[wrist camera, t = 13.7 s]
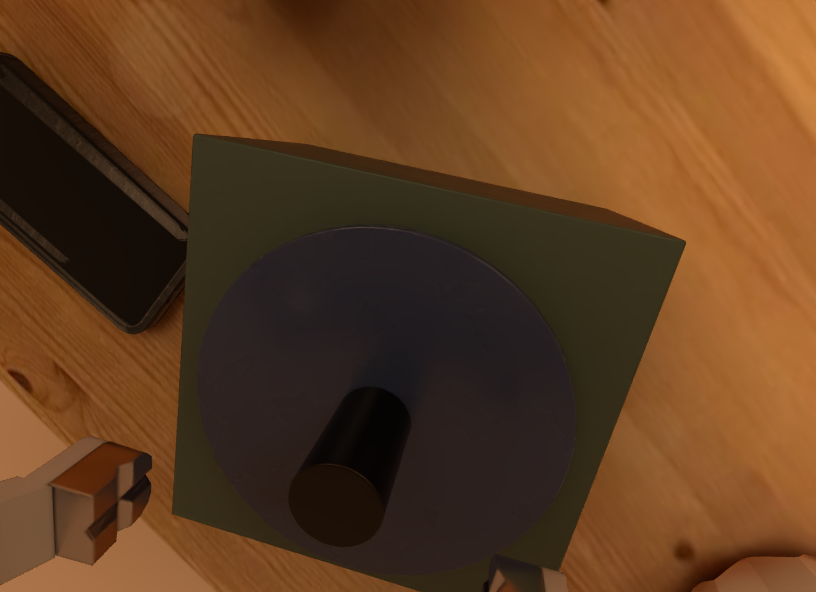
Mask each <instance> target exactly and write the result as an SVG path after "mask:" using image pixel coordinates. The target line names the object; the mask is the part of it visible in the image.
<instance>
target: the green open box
mask: <svg viewBox="0 0 816 592" xmlns="http://www.w3.org/2000/svg"><path fill="white" fill-rule="evenodd" d="M357 224H378V225H392V226H398V227H405V228H411V229H416V230H419V231H423V232H426V233H429V234H433V235H436V236H439V237H442V238H445V239H447V240H449V241H451V242H454V243H456V244H458V245H460V246H463V247H465V248H467V249H469V250H470V251H472V252H474V253H475V254H477V255H479V256H480V257H482V258H483V259H485V260H487V261H488V262H490V263H492V264H493V265H494V266H495V267H497V268H498V269H499V270H500V271H501V272H503V273H504V274H505V275H506V276H508V277H509V278H510V279H511V280H512V281H514V282H515V283H516V284H517V286H518V287H519V288H520V289H521V290H522V291H523V292H524V293H525V294H526V295H527V296H528V297H529V298H530V299H531V300H532V301H533V303H534V304H535V306H536V307H537V309H538V310H539V311H540V313H541V314H542V316H543V317H544V318H545V320H546V321H547V323H548V324H549V326H550V328H551V330H552V332H553V334H554V336H555V338H556V339H557V341H558V343H559V345H560V347H561V350H562V353H563V355H564V358H565V361H566V364H567V367H568V370H569V373H570V375H571V380H572V385H573V390H574V395H575V401H576V423H577V427H576V436H575V444H574V451H573V455H572V458H571V462H570V465H569V469H568V472H567V475H566V477H565V479H564V481H563V483H562V486H561V488H560V490H559V492H558V494H557V496H556V497H555V499H554V500H553V502H552V503H551V505H550V506H549V508H548V509H547V511H546V512H545V514H544V515H543V516H542V517H541V518H540V519H539V520H538V521H537V522H536V524H535V525H534V526H533V527H532V528H531V529H530V530H529V531H528V532H526V533H525V534H524V535H523V536H522V537H520V538H519V539H518V540H517V541H516V542H514V543H513V544H511V545H510V546H508V547H507V548H505V549H503V550H502V551H500V552H499V553H497V555H501V556H504V557H508V558H512V559H515V560H519V561H522V562H526V563H529V564H533V565H537V566H539V567H540V566H541V567H544V568H548V569H552V570H555V571H559V569H560V566H561V564H562V561H563V558H564V556H565V553H566V551H567V548H568V546H569V543H570V540H571V538H572V535H573V533H574V530H575V528H576V525H577V522H578V520H579V517H580V515H581V512H582V510H583V507H584V504H585V502H586V499H587V497H588V494H589V492H590V489H591V486H592V484H593V481H594V479H595V476H596V474H597V471H598V468H599V466H600V463H601V461H602V458H603V456H604V453H605V451H606V448H607V445H608V443H609V440H610V438H611V435H612V433H613V430H614V427H615V425H616V422H617V420H618V417H619V415H620V412H621V409H622V407H623V404H624V402H625V399H626V397H627V394H628V391H629V389H630V386H631V384H632V381H633V379H634V376H635V373H636V371H637V368H638V366H639V363H640V361H641V358H642V355H643V353H644V350H645V348H646V345H647V343H648V340H649V337H650V335H651V332H652V330H653V327H654V325H655V322H656V319H657V317H658V314H659V312H660V309H661V307H662V304H663V302H664V299H665V296H666V294H667V291H668V289H669V286H670V284H671V281H672V278H673V276H674V273H675V271H676V268H677V266H678V263H679V260H680V258H681V255H682V253H683V250H684V248H685V245H686V241H684V240H682V239H680V238H677V237H675V236H672V235H669V234H667V233H665V232H663V231H660V230H658V229H655V228H653V227H650V226H648V225H645V224H643V223H640V222H638V221H635V220H633V219H631V218H628V217H626V216H623V215H621V214H618V213H616V212H613V211H611V210H608V209H604V208H600V207H595V206H590V205H586V204H581V203H577V202H572V201H567V200H563V199H558V198H553V197H549V196H544V195H540V194H535V193H530V192H526V191H521V190H516V189H512V188H507V187H502V186H498V185H493V184H489V183H484V182H479V181H475V180H470V179H465V178H461V177H456V176H451V175H447V174H442V173H438V172H433V171H428V170H424V169H419V168H414V167H410V166H405V165H401V164H396V163H391V162H387V161H382V160H377V159H373V158H368V157H363V156H359V155H354V154H350V153H345V152H340V151H336V150H331V149H326V148H322V147H317V146H313V145H308V144H301V143H291V142H280V141H270V140H259V139H249V138H239V137H228V136H218V135H217V136H216V135H207V134H197V133H196V134H194V135H193V150H192V168H191V186H190V203H189V221H188V239H187V257H186V275H185V293H184V311H183V328H182V346H181V364H180V382H179V400H178V418H177V436H176V453H175V471H174V489H173V507H172V514H174V515H177V516H180V517H183V518H186V519H190V520H193V521H196V522H199V523H202V524H206V525H209V526H212V527H215V528H218V529H222V530H225V531H228V532H231V533H234V534H238V535H241V536H244V537H247V538H251V539H254V540H257V541H260V542H263V543H267V544H270V545H273V546H276V547H279V548H283V549H286V550H289V551H292V552H295V553H299V554H302V555H305V556H308V557H311V558H315V559H318V560H321V561H324V562H327V563H331V564H334V565H337V566H340V567H343V568H347V569H350V570H353V571H356V572H359V573H363V574H366V575H369V576H372V577H375V578H379V579H382V580H385V581H388V582H392V583H395V584H398V585H401V586H404V587H408V588H411V589H414V590H417V591H420V592H481V589H482V586H483V583H484V582H485V581H487V580H488V579H489V565H490V562H491V559H492V557H493V556H491V557H489V558H487V559H485V560H482V561H480V562H478V563H476V564H473V565H470V566H466V567H463V568H460V569H457V570H453V571H448V572H442V573H437V574H430V575H415V576H402V575H385V574H378V573H372V572H365V571H361V570H358V569H354V568H350V567H346V566H343V565H340V564H337V563H334V562H332V561H329V560H326V559H324V558H321V557H319V556H317V555H315V554H313V553H311V552H309V551H307V550H305V549H303V548H301V547H300V546H298V545H296V544H295V543H293V542H292V541H290V540H288V539H287V538H285V537H284V536H282V535H281V534H280V533H278V532H277V531H276V530H274V529H273V528H272V527H270V526H269V525H268V524H267V523H265V522H264V521H263V520H262V519H261V518H260V517H259V516H258V515H257V514H256V513H255V512H254V511H253V510H252V509H251V508H250V507H249V506H248V505H247V504H246V503H245V502H244V500H243V499H242V498H241V497H240V496H239V495H238V493H237V492H236V491H235V490H234V488H233V487H232V485H231V484H230V482H229V481H228V480H227V478H226V477H225V475H224V474H223V472H222V470H221V468H220V466H219V465H218V463H217V461H216V459H215V457H214V455H213V453H212V451H211V448H210V445H209V443H208V440H207V438H206V435H205V432H204V428H203V425H202V421H201V417H200V413H199V406H198V398H197V365H198V358H199V351H200V347H201V343H202V340H203V336H204V333H205V329H206V327H207V325H208V322H209V320H210V318H211V316H212V314H213V312H214V309H215V307H216V306H217V304H218V303H219V301H220V300H221V298H222V297H223V295H224V294H225V292H226V291H227V289H228V288H229V287H230V286H231V285H232V284H233V282H234V281H235V280H236V279H237V278H238V277H239V276H240V275H241V274H242V272H244V271H245V270H246V269H247V268H248V267H250V266H251V265H252V264H253V263H254V262H256V261H257V260H258V259H259V258H261V257H262V256H264V255H265V254H267V253H269V252H270V251H272V250H274V249H275V248H277V247H279V246H280V245H282V244H285V243H287V242H290V241H292V240H294V239H297V238H299V237H302V236H304V235H307V234H309V233H313V232H317V231H320V230H324V229H328V228H332V227H338V226H347V225H357Z"/></svg>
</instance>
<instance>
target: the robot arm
mask: <svg viewBox="0 0 816 592" xmlns="http://www.w3.org/2000/svg"><path fill="white" fill-rule="evenodd" d="M151 468H152V456H150V455H149V454H148V453H145V452H142V451H139V450H136V449H132V448H129V447H126V446H123V445H120V444H117V443H114V442H111V441H110V442H109V441H106V440H103V439H100V438H97V437H94V436H88V437H83V438H82V439H80V440H79V441H77V442H76V443H74V444H73V445H71V446H70V447H68V448H67V449H66V450H64V451H63V452H61V453H60V454H58V455H57V456H55V457H54V458H52V459H51V460H50V461H48V462H47V463H45V464H44V465H42V466H41V467H40V468H38V469H37V470H35V471H34V472H32V473H31V474H29V475H28V476H26V477H25V478H21V477H18V476H17V477H14V478H10V479H7V480H3V481H0V585H2V584H4V583H6V582H8V581H10V580H12V579H13V578H16V577H18V576H20V575H21V574H24V573H25V572H27V571H29V570H31V569H33V568H35V567H37V566H39V565H41V564H43V563H45V562H47V561H49V560H51V559H53V558H55V555H57V556H60V557H64V558H67V559H71V560H74V561H78V562H81V563H85V564H89V565H93V564H94V563H95V562H96V561H97V560H98V559H99V558H100V557H101V556H102V555H103V554H104V553H105V552H106V551H107V550H108V549H109V548H110V547H111V546H112V545H113V544H114V543H115V542H116V538H117V531H120V530H122V529H124V528H127V527H129V526H131V525H132V524H133V523H134V522H135V521H136V520H137V519H138V518H139V517H140V515H141V514H142V512H143V510H144V509H145V507H146V505H147V503H148V500H149V497H150V494H151V483H150V481H149V479H148V478H147V476H146V473H147V472H148V471H149V470H150V469H151ZM481 592H569V589H568V584H567V579H566V576H565V575H564V573H563V572H559V571H555V570H552V569H548V568H544V567H541V566H540V567H539V566H537V565H533V564H529V563H526V562H522V561H519V560H515V559H512V558H508V557H504V556H501V555H497V554H494V555H493V557H492V559H491V562H490V565H489V579H488V580H487V581H485V582H484V583H483V586H482V589H481Z"/></svg>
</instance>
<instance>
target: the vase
mask: <svg viewBox="0 0 816 592" xmlns="http://www.w3.org/2000/svg"><path fill="white" fill-rule="evenodd" d="M691 592H816V556H809V555H806V554H804V555H801V556H798V557H747V558H743V559H741V560H739V561H738V562H736V563H735V564H734V565H732V566H731V567H730V568H728V569H727V570H726V571H725V572H724V573H722V574H721V575H720V576H719V577H717V578H716V579H715V580H712V581H704V582H700V583H699V584H698V585H697V586H696V587H695V588H693V590H692V591H691Z"/></svg>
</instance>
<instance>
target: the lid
mask: <svg viewBox="0 0 816 592" xmlns="http://www.w3.org/2000/svg"><path fill="white" fill-rule="evenodd" d="M197 398H198V406H199V413H200V417H201V421H202V425H203V428H204V432H205V435H206V438H207V440H208V443H209V445H210V448H211V451H212V453H213V455H214V457H215V459H216V461H217V463H218V465H219V466H220V468H221V470H222V472H223V474H224V475H225V477H226V478H227V480H228V481H229V482H230V484H231V485H232V487H233V488H234V490H235V491H236V492H237V493H238V495H239V496H240V497H241V498H242V499H243V500H244V502H245V503H246V504H247V505H248V506H249V507H250V508H251V509H252V510H253V511H254V512H255V513H256V514H257V515H258V516H259V517H260V518H261V519H262V520H263V521H264V522H265V523H267V524H268V525H269V526H270V527H272V528H273V529H274V530H276V531H277V532H278V533H280V534H281V535H282V536H284V537H285V538H287V539H288V540H290V541H292V542H293V543H295V544H296V545H298V546H300V547H301V548H303V549H305V550H307V551H309V552H311V553H313V554H315V555H317V556H319V557H321V558H324V559H326V560H329V561H332V562H334V563H337V564H340V565H343V566H346V567H350V568H354V569H358V570H361V571H365V572H372V573H378V574H385V575H402V576H415V575H430V574H437V573H442V572H448V571H453V570H457V569H460V568H463V567H466V566H470V565H473V564H476V563H478V562H480V561H482V560H485V559H487V558H489V557H491V556H493V555H494V554H497V553H499V552H500V551H502V550H503V549H505V548H507V547H508V546H510V545H511V544H513V543H514V542H516V541H517V540H518V539H519V538H520V537H522V536H523V535H524V534H525V533H526V532H528V531H529V530H530V529H531V528H532V527H533V526H534V525H535V524H536V522H537V521H538V520H539V519H540V518H541V517H542V516H543V515H544V514H545V512H546V511H547V509H548V508H549V506H550V505H551V503H552V502H553V500H554V499H555V497H556V496H557V494H558V492H559V490H560V488H561V486H562V483H563V481H564V479H565V477H566V475H567V472H568V469H569V465H570V462H571V458H572V455H573V451H574V444H575V436H576V427H577V423H576V401H575V395H574V390H573V385H572V380H571V375H570V373H569V370H568V367H567V364H566V361H565V358H564V355H563V353H562V350H561V347H560V345H559V343H558V341H557V339H556V338H555V336H554V334H553V332H552V330H551V328H550V326H549V324H548V323H547V321H546V320H545V318H544V317H543V316H542V314H541V313H540V311H539V310H538V309H537V307H536V306H535V304H534V303H533V301H532V300H531V299H530V298H529V297H528V296H527V295H526V294H525V293H524V292H523V291H522V290H521V289H520V288H519V287H518V286H517V284H516V283H515V282H514V281H512V280H511V279H510V278H509V277H508V276H506V275H505V274H504V273H503V272H501V271H500V270H499V269H498V268H497V267H495V266H494V265H493V264H492V263H490V262H488V261H487V260H485V259H483V258H482V257H480V256H479V255H477V254H475V253H474V252H472V251H470V250H469V249H467V248H465V247H463V246H460V245H458V244H456V243H454V242H451V241H449V240H447V239H445V238H442V237H439V236H436V235H433V234H429V233H426V232H423V231H419V230H416V229H411V228H405V227H398V226H392V225H378V224H357V225H347V226H338V227H332V228H328V229H324V230H320V231H317V232H313V233H309V234H307V235H304V236H302V237H299V238H297V239H294V240H292V241H290V242H287V243H285V244H282V245H280V246H279V247H277V248H275V249H274V250H272V251H270V252H269V253H267V254H265V255H264V256H262V257H261V258H259V259H258V260H257V261H256V262H254V263H253V264H252V265H251V266H250V267H248V268H247V269H246V270H245V271H244V272H242V274H241V275H240V276H239V277H238V278H237V279H236V280H235V281H234V282H233V284H232V285H231V286H230V287H229V288H228V289H227V291H226V292H225V294H224V295H223V297H222V298H221V300H220V301H219V303H218V304H217V306H216V307H215V309H214V312H213V314H212V316H211V318H210V320H209V322H208V325H207V327H206V329H205V333H204V336H203V340H202V343H201V347H200V351H199V358H198V365H197Z"/></svg>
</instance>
